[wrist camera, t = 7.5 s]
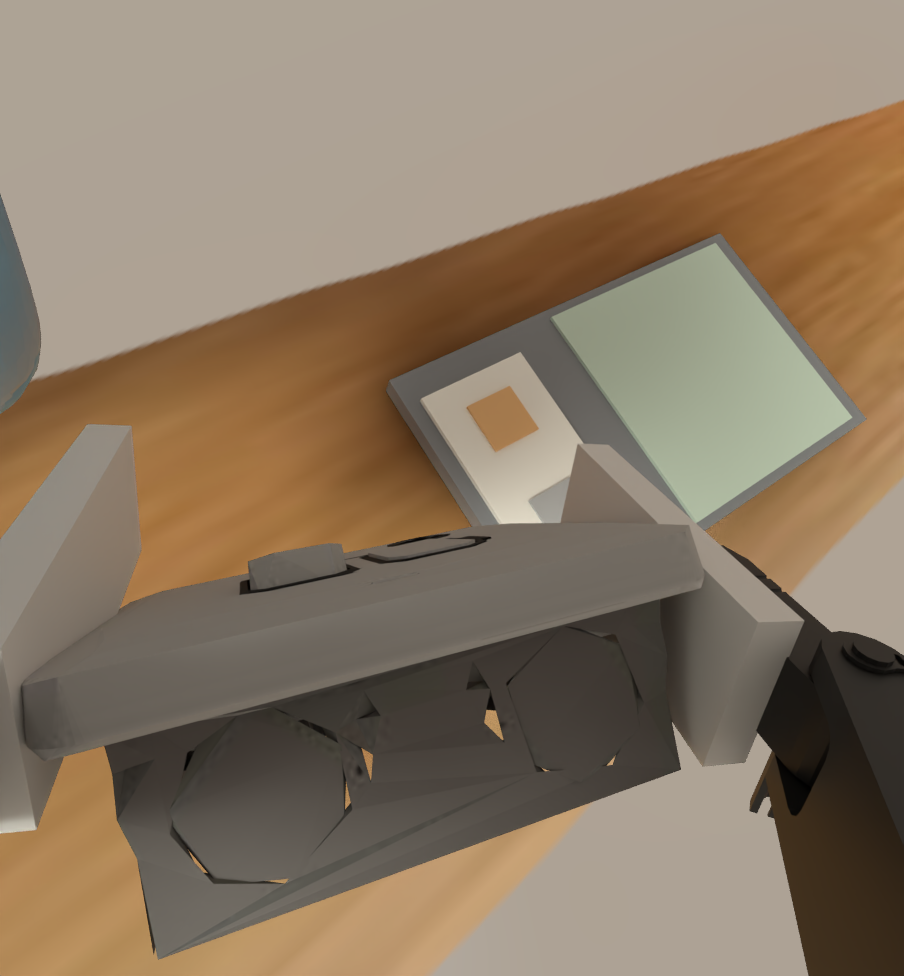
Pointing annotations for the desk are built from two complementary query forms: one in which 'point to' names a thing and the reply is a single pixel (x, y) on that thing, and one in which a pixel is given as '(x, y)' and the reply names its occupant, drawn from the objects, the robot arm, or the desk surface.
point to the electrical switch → (367, 708)
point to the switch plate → (630, 394)
